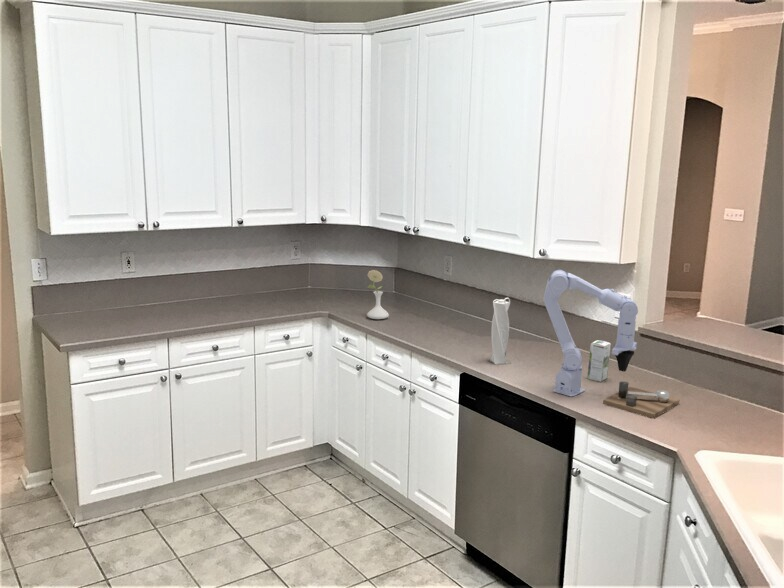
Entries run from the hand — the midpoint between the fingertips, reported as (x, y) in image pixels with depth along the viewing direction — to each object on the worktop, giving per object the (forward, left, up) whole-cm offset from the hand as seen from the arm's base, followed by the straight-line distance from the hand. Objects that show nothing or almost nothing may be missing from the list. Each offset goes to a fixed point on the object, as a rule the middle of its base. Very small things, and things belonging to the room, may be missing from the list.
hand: (622, 370), depth 237 cm
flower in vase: (+14, +141, -10) cm, 142 cm away
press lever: (-2, -9, -7) cm, 12 cm away
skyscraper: (0, +53, -10) cm, 54 cm away
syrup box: (+11, +15, -10) cm, 21 cm away
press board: (-2, -9, -9) cm, 13 cm away
